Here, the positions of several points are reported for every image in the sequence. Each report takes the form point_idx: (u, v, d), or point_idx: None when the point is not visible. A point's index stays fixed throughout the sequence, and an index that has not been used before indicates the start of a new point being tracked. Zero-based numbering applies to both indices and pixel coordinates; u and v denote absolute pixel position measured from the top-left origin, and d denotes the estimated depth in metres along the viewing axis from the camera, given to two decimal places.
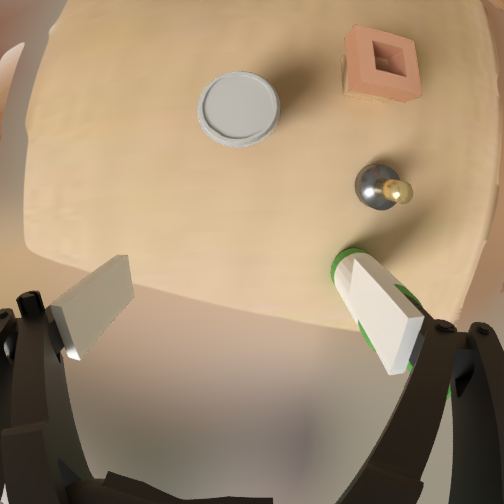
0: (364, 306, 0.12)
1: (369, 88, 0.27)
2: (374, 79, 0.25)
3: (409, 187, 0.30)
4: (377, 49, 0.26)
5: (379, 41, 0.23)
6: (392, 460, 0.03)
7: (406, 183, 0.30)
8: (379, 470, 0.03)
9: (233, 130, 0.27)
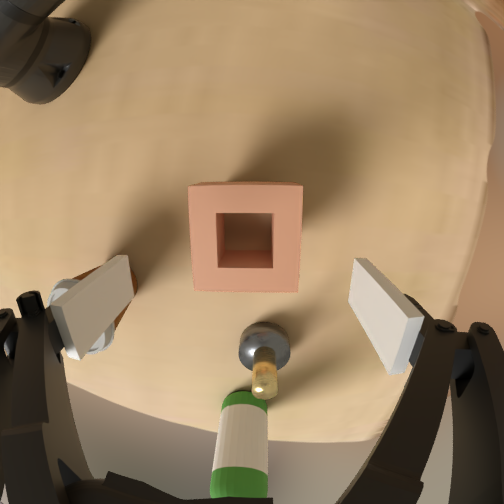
0: (364, 306, 0.12)
1: None
2: (214, 284, 0.23)
3: (272, 387, 0.28)
4: None
5: (228, 210, 0.21)
6: (392, 460, 0.03)
7: (268, 384, 0.28)
8: (379, 470, 0.03)
9: None
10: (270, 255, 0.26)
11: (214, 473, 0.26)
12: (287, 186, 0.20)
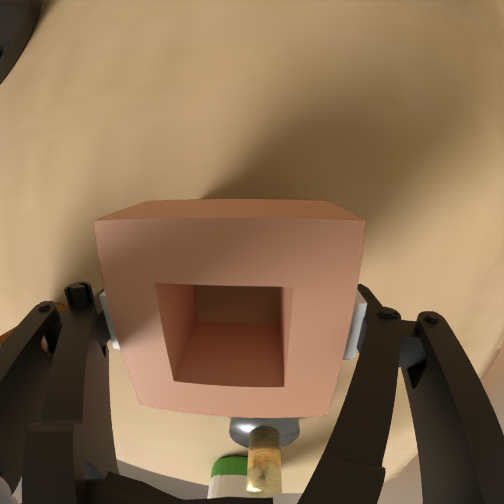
0: None
1: None
2: (172, 402, 0.11)
3: (275, 489, 0.15)
4: None
5: (183, 279, 0.09)
6: (348, 449, 0.04)
7: (268, 487, 0.15)
8: (335, 460, 0.03)
9: None
10: (277, 340, 0.13)
11: None
12: (328, 222, 0.08)
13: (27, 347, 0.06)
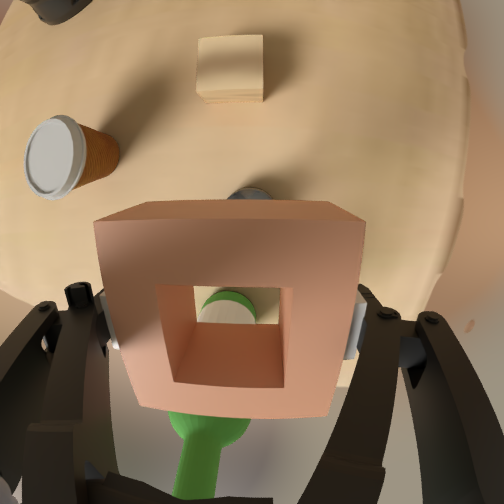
0: None
1: None
2: (172, 403, 0.11)
3: None
4: None
5: (183, 280, 0.09)
6: (348, 449, 0.04)
7: None
8: (335, 460, 0.03)
9: (46, 184, 0.22)
10: (277, 341, 0.13)
11: None
12: (328, 223, 0.08)
13: (27, 347, 0.06)
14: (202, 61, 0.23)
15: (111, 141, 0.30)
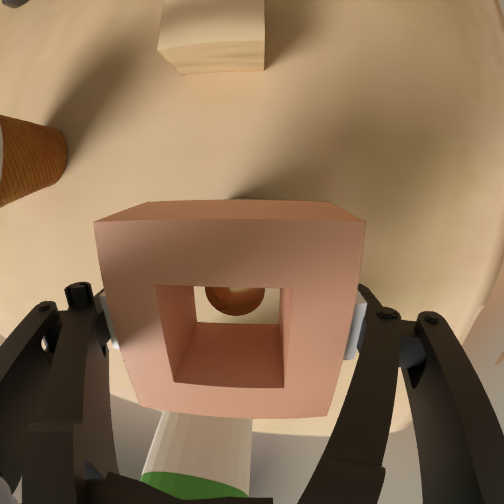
0: None
1: None
2: (172, 403, 0.11)
3: None
4: None
5: (183, 280, 0.09)
6: (348, 449, 0.04)
7: None
8: (335, 460, 0.03)
9: None
10: (277, 341, 0.13)
11: None
12: (328, 223, 0.08)
13: (27, 347, 0.06)
14: (170, 9, 0.12)
15: (55, 136, 0.19)
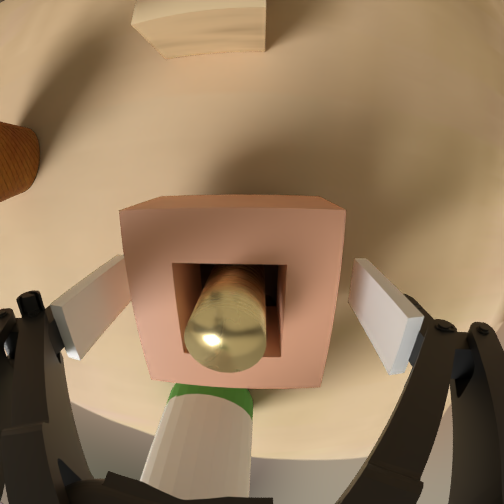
0: (364, 306, 0.12)
1: None
2: (181, 375, 0.13)
3: (249, 326, 0.09)
4: None
5: (195, 259, 0.11)
6: (392, 460, 0.03)
7: (233, 314, 0.09)
8: (379, 470, 0.03)
9: None
10: (275, 319, 0.15)
11: None
12: (315, 211, 0.10)
13: None
14: None
15: (25, 136, 0.15)
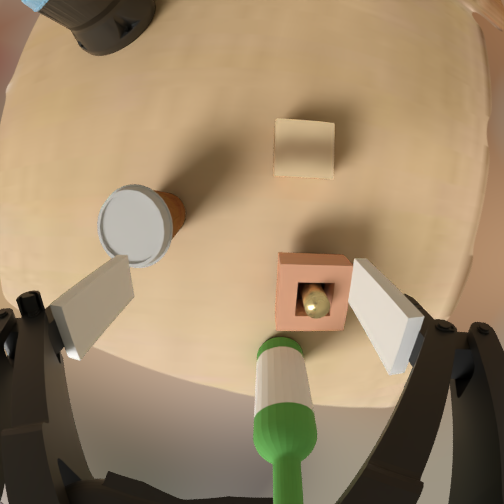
0: (364, 306, 0.12)
1: None
2: (291, 326, 0.34)
3: (325, 301, 0.30)
4: None
5: (306, 281, 0.32)
6: (392, 460, 0.03)
7: (322, 297, 0.30)
8: (379, 470, 0.03)
9: (128, 253, 0.28)
10: None
11: (259, 414, 0.28)
12: (344, 266, 0.31)
13: None
14: (280, 145, 0.30)
15: (180, 203, 0.36)
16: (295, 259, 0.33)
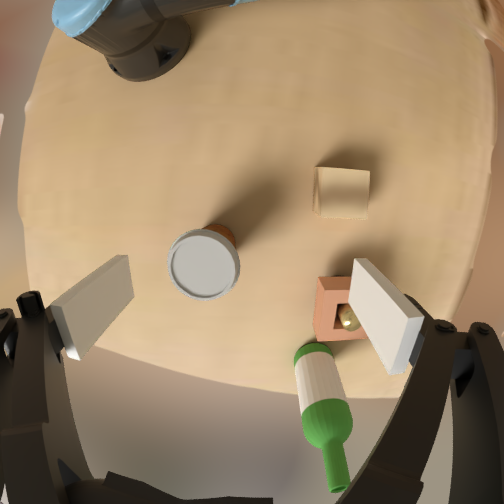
0: (364, 306, 0.12)
1: None
2: (329, 337, 0.40)
3: None
4: None
5: (344, 302, 0.38)
6: (392, 460, 0.03)
7: None
8: (379, 470, 0.03)
9: (199, 289, 0.34)
10: None
11: (307, 410, 0.35)
12: None
13: None
14: (326, 191, 0.35)
15: (232, 236, 0.42)
16: (334, 284, 0.39)
